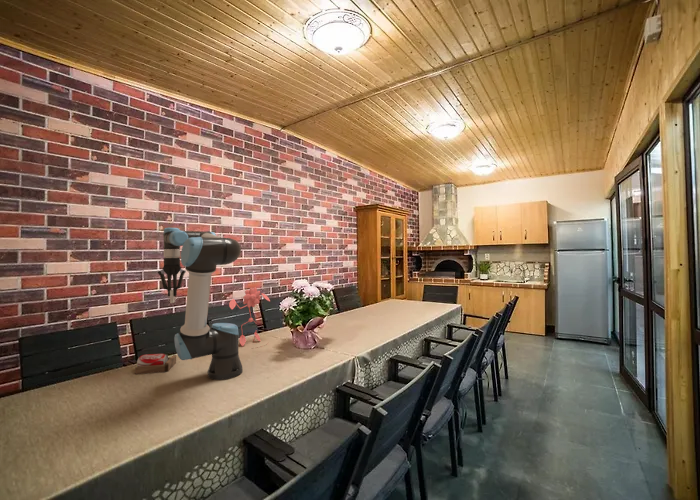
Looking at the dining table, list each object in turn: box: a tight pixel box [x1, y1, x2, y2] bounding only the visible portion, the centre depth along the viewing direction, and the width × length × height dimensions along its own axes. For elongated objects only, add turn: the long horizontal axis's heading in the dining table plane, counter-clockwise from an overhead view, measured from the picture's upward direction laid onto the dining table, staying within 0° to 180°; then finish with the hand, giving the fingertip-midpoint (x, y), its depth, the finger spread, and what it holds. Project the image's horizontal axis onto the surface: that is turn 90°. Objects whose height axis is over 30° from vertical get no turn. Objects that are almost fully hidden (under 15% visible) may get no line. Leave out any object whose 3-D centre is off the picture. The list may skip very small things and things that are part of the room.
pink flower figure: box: [228, 286, 271, 349], centre depth 195 cm, size 15×26×35 cm, turn 138°
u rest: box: [134, 354, 177, 375], centre depth 157 cm, size 12×14×4 cm
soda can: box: [136, 353, 169, 367], centre depth 157 cm, size 7×7×12 cm
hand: (172, 302), depth 168 cm, fingers closed
